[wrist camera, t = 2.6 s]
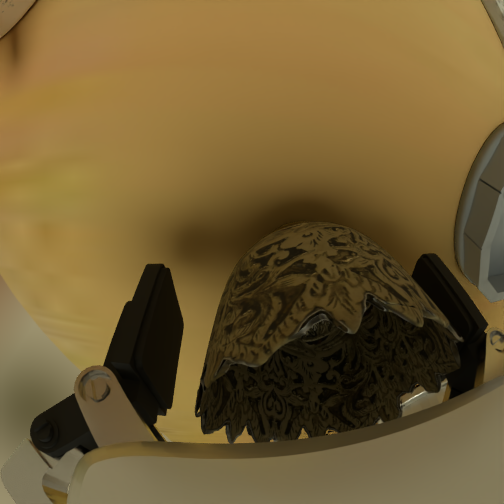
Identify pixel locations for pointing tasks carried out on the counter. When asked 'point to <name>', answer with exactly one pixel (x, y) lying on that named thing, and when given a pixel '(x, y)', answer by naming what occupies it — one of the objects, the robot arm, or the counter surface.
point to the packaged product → (496, 15)
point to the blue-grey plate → (483, 220)
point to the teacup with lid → (12, 13)
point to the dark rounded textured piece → (319, 338)
